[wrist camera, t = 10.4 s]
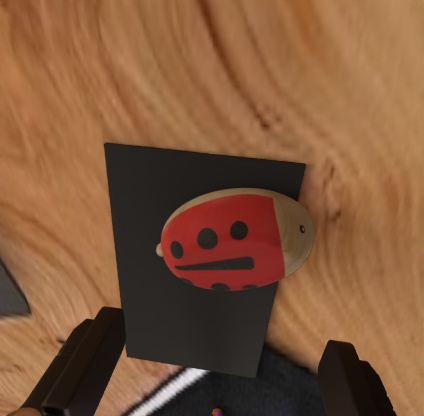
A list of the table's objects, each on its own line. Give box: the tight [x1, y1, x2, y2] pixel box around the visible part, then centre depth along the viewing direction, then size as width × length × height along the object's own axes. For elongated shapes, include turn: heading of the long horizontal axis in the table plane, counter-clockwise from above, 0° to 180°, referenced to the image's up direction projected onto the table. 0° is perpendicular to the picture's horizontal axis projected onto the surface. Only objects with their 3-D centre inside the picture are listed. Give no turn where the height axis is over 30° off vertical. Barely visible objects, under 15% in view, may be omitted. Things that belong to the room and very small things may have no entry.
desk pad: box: [104, 143, 306, 378], centre depth 21 cm, size 20×12×1 cm, turn 176°
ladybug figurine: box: [156, 188, 315, 291], centre depth 16 cm, size 7×10×4 cm
